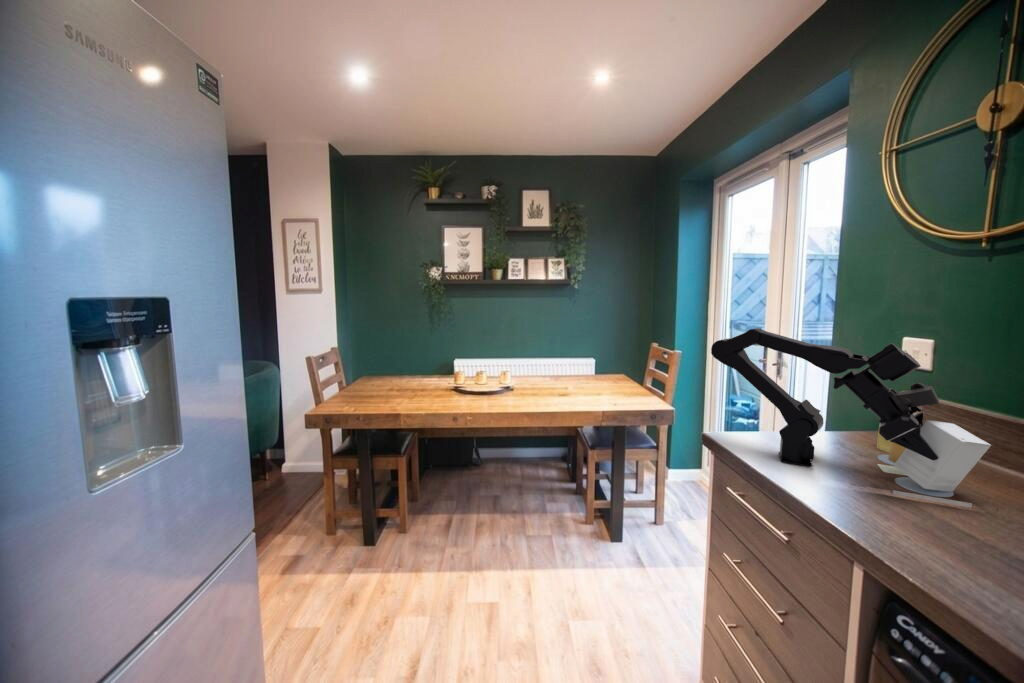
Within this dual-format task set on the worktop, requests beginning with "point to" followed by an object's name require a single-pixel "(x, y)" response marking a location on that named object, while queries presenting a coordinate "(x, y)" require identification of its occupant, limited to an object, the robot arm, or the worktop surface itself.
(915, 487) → the white board
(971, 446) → the supplement box
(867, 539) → the worktop surface
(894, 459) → the amber tube
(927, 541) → the worktop surface
